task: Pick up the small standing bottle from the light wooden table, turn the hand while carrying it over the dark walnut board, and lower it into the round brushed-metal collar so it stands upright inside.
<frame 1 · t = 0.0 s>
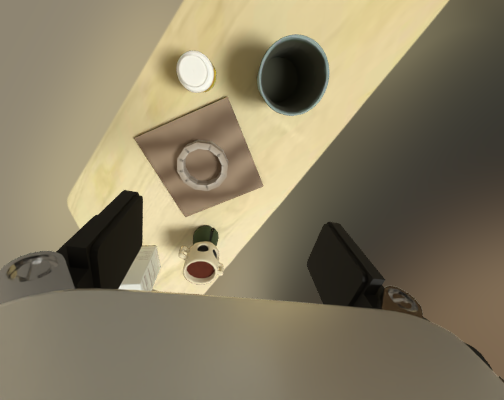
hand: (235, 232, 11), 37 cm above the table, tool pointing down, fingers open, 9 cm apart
supplement box: (145, 255, 58), on the table
character mug: (206, 234, 56), on the table
supplement bottle: (201, 75, 40), on the table
blue-grey plant pot: (277, 80, 41), on the table
collar board: (204, 162, 47), on the table
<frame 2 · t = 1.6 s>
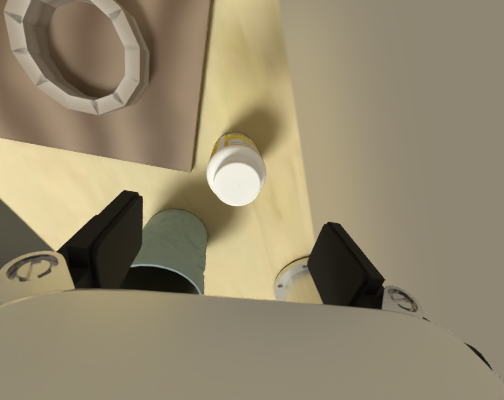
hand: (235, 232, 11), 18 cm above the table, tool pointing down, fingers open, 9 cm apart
supplement bottle: (235, 154, 27), on the table
blue-grey plant pot: (178, 232, 32), on the table
collar board: (100, 56, 22), on the table
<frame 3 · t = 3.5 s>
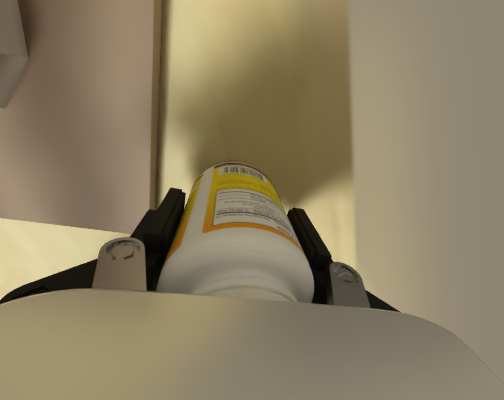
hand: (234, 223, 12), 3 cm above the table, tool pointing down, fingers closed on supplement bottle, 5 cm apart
supplement bottle: (233, 197, 15), on the table, touching gripper
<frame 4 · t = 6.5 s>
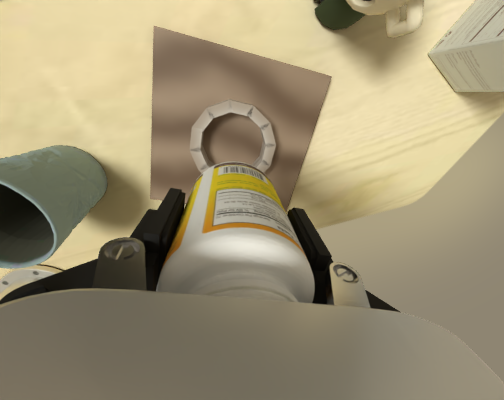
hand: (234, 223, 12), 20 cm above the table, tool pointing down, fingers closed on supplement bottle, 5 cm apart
supplement box: (464, 46, 27), on the table
supplement bottle: (233, 197, 15), point 16 cm above the table, touching gripper
blue-grey plant pot: (76, 176, 30), on the table
collar board: (232, 140, 29), on the table
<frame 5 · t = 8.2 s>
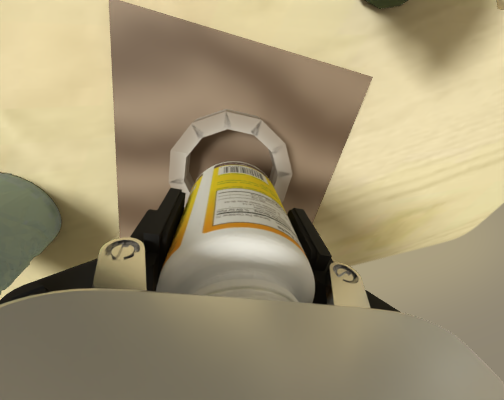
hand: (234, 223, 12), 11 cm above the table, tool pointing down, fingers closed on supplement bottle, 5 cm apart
supplement bottle: (234, 197, 15), point 8 cm above the table, touching gripper
blue-grey plant pot: (18, 211, 22), on the table
collar board: (231, 164, 21), on the table
when the fingers open (5 cm above the table, at t = 9.7 s): supplement bottle stays where it is, resting on collar board.
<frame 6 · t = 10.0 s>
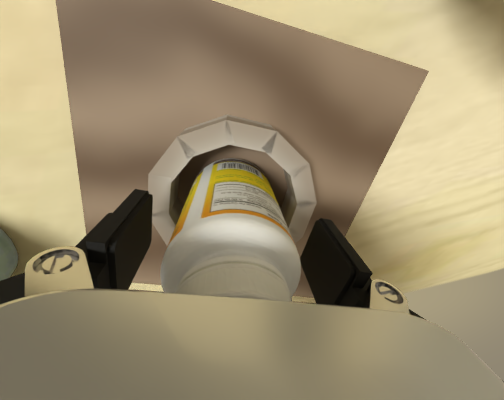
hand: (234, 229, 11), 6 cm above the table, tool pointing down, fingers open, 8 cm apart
supplement bottle: (232, 192, 16), point 1 cm above the table, touching collar board
collar board: (233, 185, 17), on the table
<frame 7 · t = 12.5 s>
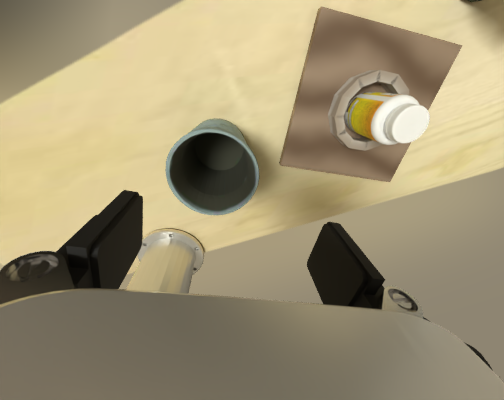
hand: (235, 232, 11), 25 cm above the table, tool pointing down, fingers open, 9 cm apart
supplement bottle: (361, 112, 32), point 1 cm above the table, touching collar board
blue-grey plant pot: (219, 146, 34), on the table
collar board: (358, 110, 33), on the table
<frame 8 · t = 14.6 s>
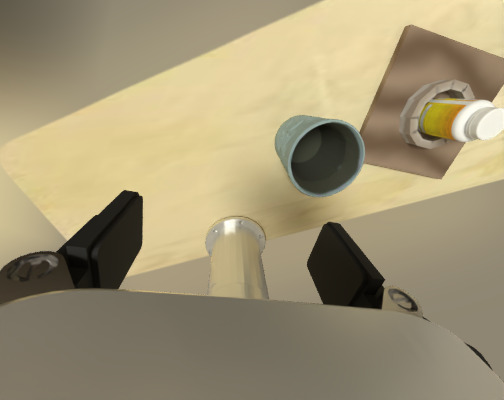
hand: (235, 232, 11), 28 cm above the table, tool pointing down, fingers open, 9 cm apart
supplement bottle: (427, 115, 37), point 1 cm above the table, touching collar board
blue-grey plant pot: (299, 141, 38), on the table
collar board: (423, 114, 38), on the table
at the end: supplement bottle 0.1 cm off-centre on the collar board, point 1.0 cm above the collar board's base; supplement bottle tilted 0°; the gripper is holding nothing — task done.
